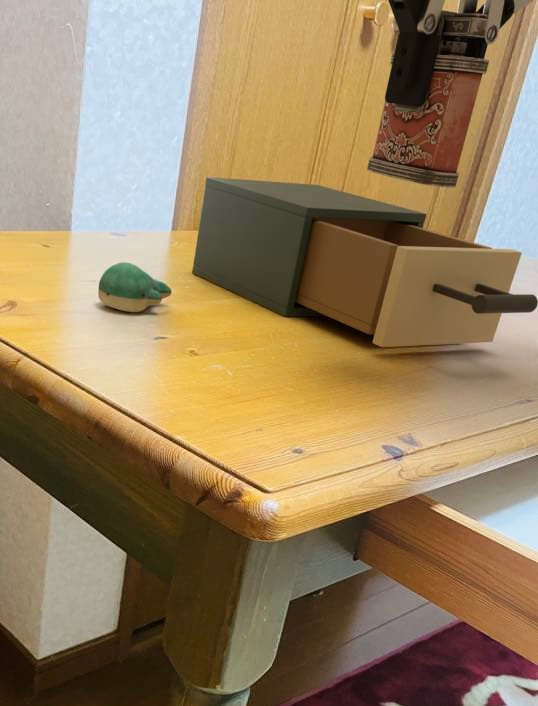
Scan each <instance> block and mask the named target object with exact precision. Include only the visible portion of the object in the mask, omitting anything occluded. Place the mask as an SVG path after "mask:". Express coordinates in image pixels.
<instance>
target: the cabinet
mask: <svg viewBox="0 0 538 706" xmlns="http://www.w3.org/2000/svg"><path fill="white" fill-rule="evenodd" d="M202 197H203V198H202V204H201V209H200V210H201V211H200V217H199V223H198V224H199V225H198V231H197V238H196V245H195V251H194V256H193V257H194V258H193V266H192V270H191V274H193V275H195V276H198V277H199V278H201V279H204V280H206V281H207V282H210V283H213V284H215V285H217V286H219V287H221V288H223V289H225V290H227V291H229V292H231V293H234V294H236V295H238V296H240V297H242V298H244V299H246V300H248V299H249V301H251V302H253V303H255V304H257V305H259V306H261V307H262V308H266V309H268V310H270V311H272V312H274V313H276V314H279V315H281V316H283V317H284V318H288V317H289V318H291V317H297V318H298V317H327V316H326V315H324V314H321V313H319V312H317V311H315V310H312V309H310V308H308V307H306V306H303V305H301V304H299V303H296V302H295V298H296V293H297V288H298V283H299V279H300V274H301V269H302V264H303V260H304V255H305V250H306V245H307V241H308V236H309V231H310V226H311V222H312V217H316V218H338V219H359V220H380V221H399V222H403V223H406V224H410V225H413V226H417V227H420V228H424V225H425V222H426V219H427V213H425V212H420V211H418V210H413V209H411V208H406V207H402V206H398V205H396V204H395V205H394V204H391V203H387V202H383V201H381V200H376V199H372V198H369V197H364V196H361V195H356V194H353V193H349V192H346V191H342V190H338V189H334V188H330V187H327V186H323V185H319V184H312V183H311V184H309V183H299V182H298V183H296V182H283V181H270V180H256V179H255V180H253V179H239V178H226V177H225V178H224V177H214V176H213V177H210V176H207V177H205V183H204V190H203V196H202Z"/></svg>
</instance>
